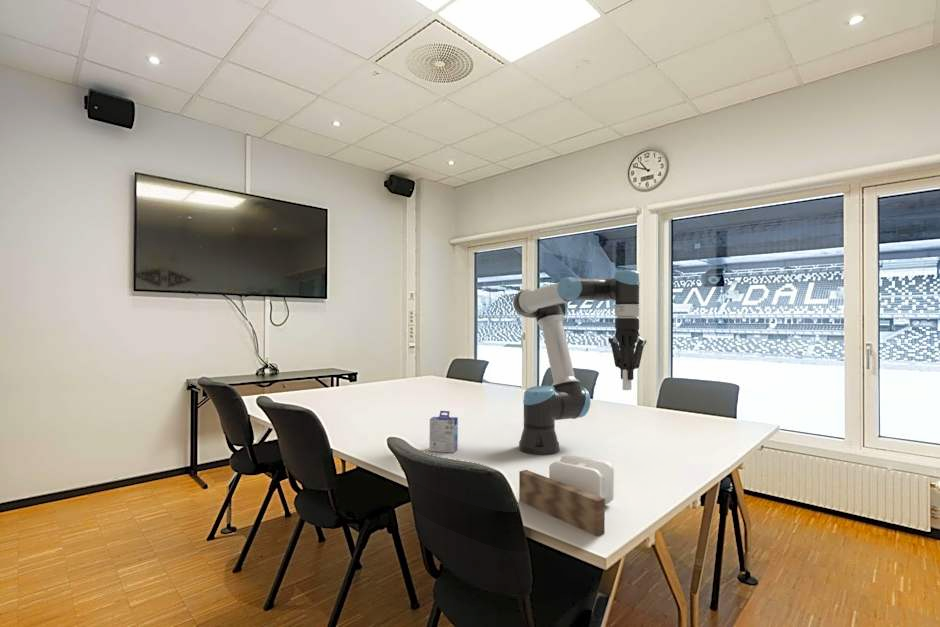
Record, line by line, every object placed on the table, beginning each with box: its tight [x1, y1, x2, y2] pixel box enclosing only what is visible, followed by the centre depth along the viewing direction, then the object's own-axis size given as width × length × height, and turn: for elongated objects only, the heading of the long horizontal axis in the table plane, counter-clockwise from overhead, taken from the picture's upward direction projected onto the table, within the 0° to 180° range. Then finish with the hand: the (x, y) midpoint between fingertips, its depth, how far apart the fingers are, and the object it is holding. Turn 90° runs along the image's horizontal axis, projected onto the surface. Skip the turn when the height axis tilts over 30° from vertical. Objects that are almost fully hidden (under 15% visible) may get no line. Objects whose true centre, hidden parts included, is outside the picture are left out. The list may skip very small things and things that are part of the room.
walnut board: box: [518, 469, 606, 537], centre depth 119 cm, size 26×2×8 cm, turn 37°
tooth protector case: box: [548, 454, 615, 505], centre depth 127 cm, size 15×11×12 cm
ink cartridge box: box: [428, 410, 459, 454], centre depth 178 cm, size 10×6×14 cm, turn 78°
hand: (627, 389), depth 155 cm, fingers closed
